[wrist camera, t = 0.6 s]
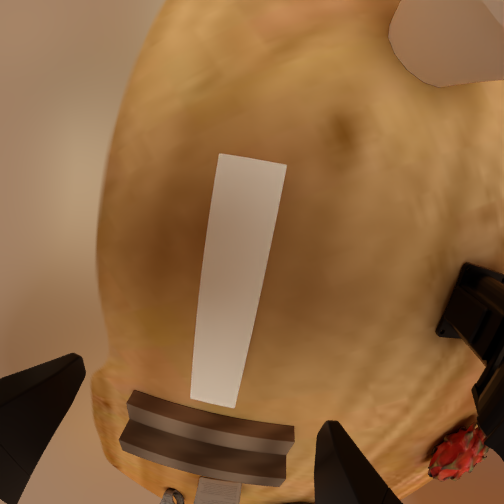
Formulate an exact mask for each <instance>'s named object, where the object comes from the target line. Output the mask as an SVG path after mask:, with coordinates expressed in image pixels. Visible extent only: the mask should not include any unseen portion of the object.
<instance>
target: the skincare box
mask: <svg viewBox="0 0 504 504" xmlns="http://www.w3.org/2000/svg"><path fill="white" fill-rule="evenodd" d="M241 486H242V483H238V482H230V481H223V480H216V479H210V478H204V477H200V479H199V483H198V488H197V492H196V496H195V501H194V504H239V503H240V494H241Z"/></svg>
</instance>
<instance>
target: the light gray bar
mask: <svg viewBox="0 0 504 504" xmlns="http://www.w3.org/2000/svg"><path fill="white" fill-rule="evenodd" d="M286 167H287V165H284V164H279V163H274V162H269V161H264V160H258V159H253V158H247V157H241V156H234V155H228V154H221V153H219V158H218V164H217V169H216V175H215V181H214V187H213V194H212V200H211V206H210V213H209V220H208V227H207V234H206V241H205V249H204V256H203V264H202V272H201V281H200V290H199V299H198V308H197V318H196V329H195V340H194V352H193V365H192V379H191V395H190V398H191V399H195V400H199V401H203V402H207V403H211V404H216V405H220V406H225V407H230V408H235V404H236V400H237V396H238V391H239V387H240V383H241V379H242V374H243V370H244V366H245V361H246V357H247V353H248V348H249V344H250V339H251V335H252V330H253V326H254V321H255V317H256V312H257V308H258V303H259V299H260V294H261V289H262V285H263V280H264V275H265V271H266V266H267V261H268V257H269V252H270V247H271V242H272V237H273V233H274V228H275V223H276V218H277V213H278V208H279V203H280V198H281V193H282V188H283V183H284V178H285V173H286Z"/></svg>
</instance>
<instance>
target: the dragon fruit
mask: <svg viewBox="0 0 504 504" xmlns="http://www.w3.org/2000/svg"><path fill="white" fill-rule="evenodd" d="M476 424H477V425H478V427H477V428H476V429H475V426H476ZM446 436H447V435H446ZM446 436H445V437H444V442H443V443H442V444H440V445H438V446H435V447H434V449H433V451H432V453H431V455H433V454H434V453H435V454H434V456H433V458H432V459H431V462H430V465H429V467H428V468H429V471H428V475H429V476H430V477H434V478H435V479H438V480H440V481H441V482H443V481H445V480H447V479H449V478H451V479H452V480H454V481H457V480H458V479H460V477H461V475H462V474H463V473H464V472H469V473H470V472H472V470H473V468H474V467H475V465H476V464H477V463H478V462H482V461H483V460H485V458H486V457H487V456H486V457H484V455H485V454H486V453H487V452H488V449H489V447H488V446H486V445H484V441H485V440H486V439H487V438H486V437H485V436H484V434H483V432H482V430H481V429H480V427H479V424H478V422H474V423H473V424H472V425H471V426H469V428H468V429H466V427H464V426H462V427H460V429H459V431H458V433H455V434H450V435H448V436H447V437H446Z"/></svg>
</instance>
